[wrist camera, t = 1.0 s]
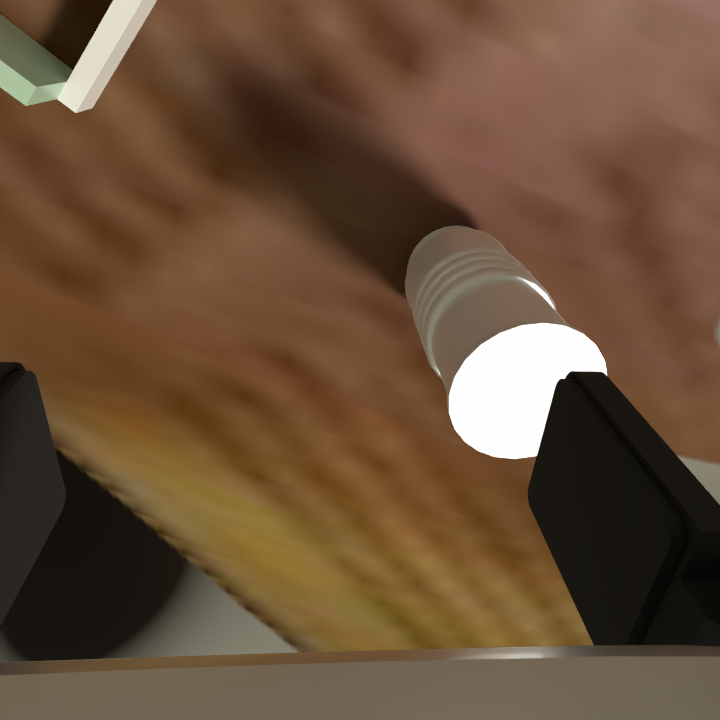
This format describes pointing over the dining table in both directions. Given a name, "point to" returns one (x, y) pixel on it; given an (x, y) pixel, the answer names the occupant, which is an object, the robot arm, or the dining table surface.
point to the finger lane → (54, 78)
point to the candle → (492, 339)
